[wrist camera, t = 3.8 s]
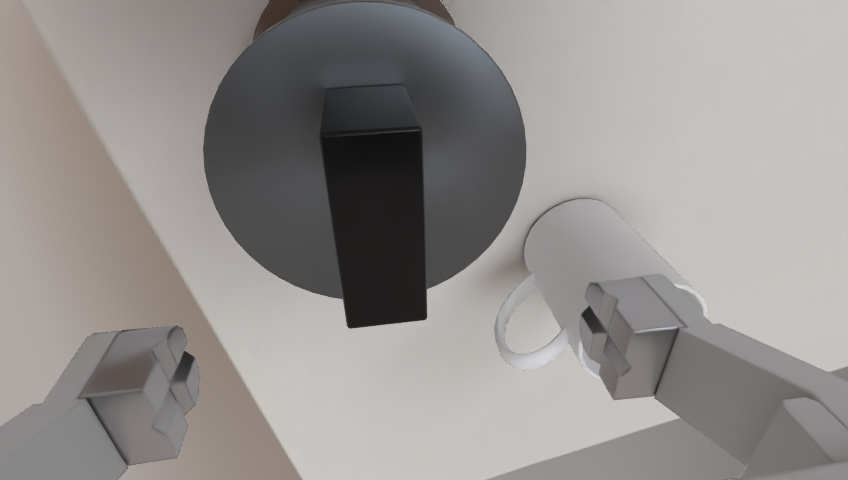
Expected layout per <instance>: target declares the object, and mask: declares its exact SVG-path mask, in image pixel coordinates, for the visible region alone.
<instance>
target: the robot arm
mask: <svg viewBox="0 0 848 480" xmlns="http://www.w3.org/2000/svg"><path fill="white" fill-rule="evenodd" d="M584 298H585V299H586V301H587V302H588V304H589V306H588V307H587V308H586V309H585V310H584V311H583V313H582V314H581V317H580V324H579V330H580V339H581V342H582V345H583V348H584V350H585V351H586V353H587V355H588V357H589V358H590V359H592V360H594V361H595V362H597V363H598V364H600V365H601V366H600V370H599V376H600V378H601V379H602V381H603V383H604V384H605V386H606V388H607V389H608V391H609V393H610V395H611V396H612V398H613V400H620V399H630V398H639V397H649V396H655V399H656V400H658V401H659V402H661V403H662V404H663V405H665V406H666V407H667V408H669V409H670V410H671V411H673V412H674V413H675V414H677V415H678V416H679V417H681V418H682V419H683V420H685V421H686V422H688V423H689V424H690V425H692V426H693V427H694V428H696V429H697V430H698V431H700V432H701V433H702V434H704V435H705V436H706V437H708V438H709V439H711V440H712V441H713V442H714V443H716V444H717V445H719V446H720V447H721V448H723V449H724V450H725V451H727V452H728V453H730V454H731V455H732V456H733V457H735V458H736V459H737V460H739V461H740V462H742V463H743V464H744V465H745V467H744V469H743V470H742V472H741V474H740V475H739V477H738V478H733V479H726V480H848V381H846V380H844V379H842V378H840V377H837V376H835V375H833V374H831V373H828V372H826V371H824V370H822V369H820V368H817V367H815V366H813V365H811V364H808V363H806V362H804V361H802V360H800V359H797V358H795V357H793V356H791V355H788V354H786V353H784V352H782V351H780V350H777V349H775V348H773V347H771V346H768V345H766V344H764V343H762V342H760V341H757V340H755V339H753V338H751V337H748V336H746V335H744V334H742V333H739V332H737V331H735V330H733V329H731V328H728V327H726V326H724V325H722V324H712V323H711V322H710V321H709V320H708V319H707V318H706V317H705V316H704V315H703V314H702V313H701V312H700V311H699V310H698V309H697V308H696V307H695V306H694V305H693V304H692V303H691V302H690V301H689V300H688V299H687V297H686V296H685V295H684V294H683V293H682V292H681V291H680V290H679V289H678V288H677V287H676V286H675V285H674V284H673V283H672V282H671V281H670V280H669V279H668V278H667V277H666V276H664V275H662V274H652V275H644V276H637V277H633V278H624V279H615V280H606V281H597V282H590V283H589V285H588V286H587V288H586V293H585V297H584ZM187 342H188V339H187V337H186V335H185V333H184V331H183V329H182V328H181V327H178V326H167V327H155V328H143V329H132V330H122V331H112V332H102V333H94V334H92V335H90V336H89V337H87V338H86V339H85V341H84V342H83V344H82V345H81V347H80V348H79V349H78V351H77V353H76V354H75V355H74V357H73V358H72V360H71V361H70V363H69V364H68V366H67V367H66V369H65V370H64V372H63V373H62V375H61V376H60V378H59V379H58V381H57V383H56V384H55V385H54V387H53V388H52V390H51V391H50V393H49V394H48V396H47V397H46V399H45V400H44V402H43V403H41V404H34V405H31V406H30V407H29V408H27V409H25V410H24V411H23V412H21V413H20V414H18V415H17V416H15V417H14V418H12V419H11V420H9V421H8V422H7V423H5V424H4V425H2V426H1V427H0V480H118V479H119V478H120V477H121V476H122V475H123V474H124V473H125V471H126V470H127V469H128V466H129V465H136V464H142V463H148V462H155V461H161V460H167V459H173V458H178V455H179V452H180V449H181V446H182V443H183V440H184V437H185V434H186V431H187V429H188V424H187V422H186V419H185V417H184V416H185V414H187V413H188V412H189V411H190V410H191V409H192V408H193V407H194V406H195V404H196V401H197V398H198V395H199V385H200V375H199V368H198V365H197V362H196V359H195V357H193V356H192V355H190V354H188V353H187V352H186V351H184V350H185V347H186V345H187Z"/></svg>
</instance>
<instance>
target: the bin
mask: <svg viewBox="0 0 848 480" xmlns="http://www.w3.org/2000/svg"><path fill="white" fill-rule="evenodd" d="M203 152H204V166H205V173H206V178H207V182H208V187H209V191H210V194H211V196H212V199H213V202H214V204H215V207H216V209H217V211H218V213H219V215H220V217H221V219H222V220H223V222H224V224H225V226H226V227H227V229H228V230H229V232H230V233H231V234H232V236H233V237H234V238H235V240H236V241H237V242H238V243H239V245H240V246H241V247H242V248H243V249H244V250H245V251H246V252H247V253H248V254H249V255H250V256H251V257H252V258H253V259H254V260H256V261H257V262H258V263H259V264H260V265H262V266H263V267H264V268H265V269H267V270H268V271H270V272H272V273H273V274H275V275H276V276H278V277H279V278H281V279H283V280H285V281H287V282H289V283H291V284H293V285H295V286H297V287H300V288H302V289H305V290H308V291H310V292H313V293H317V294H320V295H324V296H328V297H333V298H340V299H343V302H344V309H345V316H346V322H347V326H348V328H359V327H368V326H376V325H385V324H394V323H403V322H412V321H421V320H426V318H427V289H428V288H431V287H434V286H436V285H438V284H440V283H442V282H444V281H446V280H448V279H450V278H451V277H453V276H454V275H456V274H457V273H459V272H460V271H462V270H464V269H465V268H466V267H467V266H469V265H470V264H471V263H472V262H474V261H475V260H476V259H477V258H478V257H479V256H480V255H481V254H482V253H483V252H484V251H485V250H486V249H487V248H488V247H489V246H490V245H491V244H492V243H493V241H494V240H495V239H496V237H497V236H498V235H499V234H500V232H501V231H502V229H503V227H504V226H505V224H506V222H507V221H508V219H509V218H510V216H511V213H512V211H513V209H514V207H515V204H516V202H517V200H518V196H519V193H520V190H521V187H522V183H523V177H524V171H525V165H526V139H525V129H524V124H523V120H522V116H521V112H520V108H519V105H518V103H517V100H516V98H515V95H514V93H513V90H512V88H511V86H510V85H509V83H508V81H507V79H506V78H505V76H504V74H503V73H502V71H501V69H500V68H499V67H498V66H497V64H496V63H495V62H494V61H493V59H492V58H491V57H490V56H489V54H488V53H487V52H486V51H485V50H484V49H483V48H481V47H480V46H479V45H478V44H477V43H476V42H475V41H474V40H473V39H472V38H471V37H469V36H468V35H467V34H465V33H464V32H463V31H461V30H460V29H458V28H457V27H455V26H454V25H453V24H451V23H450V22H448V21H447V20H445V19H443V18H441V17H439V16H437V15H435V14H433V13H431V12H429V11H427V10H424V9H421V8H420V7H418V6H417V5H416V4H415V3H414V2H413V1H411V0H302V1H301V2H299V3H298V4H297V5H296V6H295V7H294V8H293V9H292V10H291V11H290V13H289V14H288V15H287V16H286V17H285V19H283V20H281V21H280V22H278V23H277V24H275V25H273V26H272V27H270V28H269V29H267V30H266V31H265V32H264V33H263V34H261V35H260V36H259V37H258V38H257V39H256V40H254V41H253V42H252V43H251V44H250V45H249V46H248V47H247V48H246V49H245V50H244V52H243V53H242V54H241V55H240V56H239V57H238V59H237V60H236V61H235V62H234V63H233V64H232V66H231V67H230V69H229V70H228V72H227V73H226V75H225V77H224V78H223V80H222V82H221V83H220V85H219V87H218V89H217V92H216V94H215V96H214V99H213V101H212V104H211V106H210V110H209V114H208V118H207V122H206V126H205V135H204V147H203Z"/></svg>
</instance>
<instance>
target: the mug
mask: <svg viewBox="0 0 848 480" xmlns="http://www.w3.org/2000/svg"><path fill="white" fill-rule="evenodd" d="M524 259H525V264H526V266H527V268H528V270H529V272H530V274H531V275H529V276H528V277H527V278H526V279H525V280H523V281H522V282H521V283H520V284H519V285H518V286H517V287H516V288H515V289H514V290H513V291H512V292H511V293H510V295H509V296H508V297H507V299H506V300H505V302H504V303H503V304H502V306H501V308H500V311H499V313H498V315H497V317H496V322H495V328H494V331H495V340H496V343H497V346H498V349H499V352H500V355H501V357H502V358H503V359H504V361H505V362H506V363H508V364H509V365H511V366H512V367H514V368H515V369H519V370H523V371H526V370H535V369H537V368H540V367H543V366H545V365H546V364H548V363H550V362H551V361H553V360H554V359H555V358H556V357H558V356H559V355H560V354H561V353H562V352H563V350H564V349H565V348H566V347H567V345H568V344H570V346H571V348H572V349H573V351H574V353H575V355H576V356H577V358H578V360H579V362H580V364H581V365H582V367H583V369H585V370H586V371H587V372H588V373H589V374H590V375H591V376H593V377H595V378H598V379H600V380H602V379H601V378H600V376H599V370H600V366H601V365H600V364H598V363H597V362H595V361H594V360H592V359H590V358H589V357H588V355H587V353H586V351H585V350H584V348H583V345H582V342H581V339H580V330H579V324H580V317H581V314H582V313H583V311H584V310H585V309H586V308H587V307H588V306H589V304H588V302H587V301H586V299H585V298H584V297H585V293H586V288H587V286H588V285H589V283H590V282H597V281H606V280H615V279H624V278H633V277H637V276H644V275H652V274H662V275H664V276H666V277H667V278H668V279H669V280H670V281H671V282H672V283H673V284H674V285H675V286H676V287H677V288H678V289H679V290H680V291H681V292H682V293H683V294H684V295H685V296H686V297H687V299H688V300H689V301H690V302H691V303H692V304H693V305H694V306H695V307H696V308H697V309H698V310H699V311H700V312H701V313H702V314H703V315H704V316H705V317H706V318H707V309H706V303H705V301H704V300H703V299H702V297H701V296H700V294H699V293H698V292H697V291H696V290H695V289H694V288H693V287H692V286H691V285H690V284H689V283H688V282H687V281H686V280H685V279H684V278H683V277H682V276H681V275H680V274H679V273H678V272H677V271H676V270H675V269H674V268H673V267H672V266H671V265H670V264H669V263H668V262H667V261H666V260H665V259H664V258H663V257H662V256H661V255H660V254H659V253H658V252H657V251H656V250H655V249H654V248H653V247H652V246H651V245H650V244H649V243H648V242H647V241H646V240H645V239H644V238H643V237H642V236H641V235H640V234H639V233H638V232H637V231H636V230H635V229H634V228H633V227H632V226H631V225H630V224H629V223H628V222H627V221H626V220H625V219H624V218H623V217H622V216H621V215H620V214H619V213H618V212H617V211H616V210H615V209H613V208H612V207H610V206H609V205H607V204H606V203H604V202H601V201H597V200H593V199H576V200H572V201H568V202H564V203H562V204H560V205H558V206H556V207H554V208H552V209H551V210H549V211H548V212H547V213H545V214H544V215H543V216H541V217H540V219H539V220H538V221H537V222H536V223H535V224H534V226H533V227H532V228H531V230H530V232H529V234H528V236H527V238H526V243H525V247H524ZM537 287H538V288H539V290H540V292H541V294H542V295H543V297H544V299H545V301H546V303H547V304H548V306H549V308H550V310H551V312H552V313H553V315H554V317H555V319H556V321H557V322H558V324H559V326H560V328H561V331H560V333H559V334H558V335H557V336H556V337H555V338H554V339H553V340H552V341H551V342H550V343H549V344H547V345H546V346H545V347H543V348H541V349H540V350H538V351H535V352H532V353H530V354H517V353H514V352H512V351H510V349H509V348H508V347H507V344H506V342H505V329H506V325H507V322H508V320H509V318H510V316H511V315H512V313H513V312H514V310H515V309H516V307H517V306H518V305H519V304H520V303H521V302H522V300H523V299H525V298H526V297H527V296H528V295H529V294H530V293H531V292H532V291H533V290H535V289H536V288H537Z"/></svg>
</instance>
